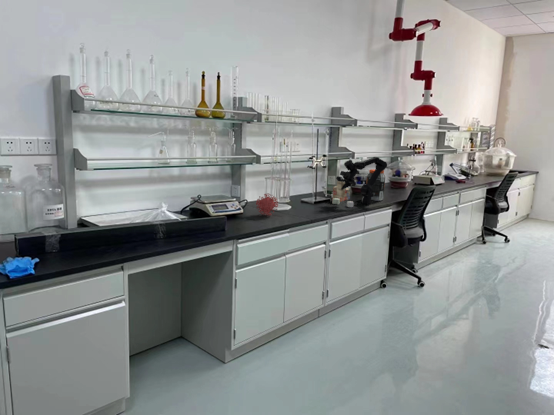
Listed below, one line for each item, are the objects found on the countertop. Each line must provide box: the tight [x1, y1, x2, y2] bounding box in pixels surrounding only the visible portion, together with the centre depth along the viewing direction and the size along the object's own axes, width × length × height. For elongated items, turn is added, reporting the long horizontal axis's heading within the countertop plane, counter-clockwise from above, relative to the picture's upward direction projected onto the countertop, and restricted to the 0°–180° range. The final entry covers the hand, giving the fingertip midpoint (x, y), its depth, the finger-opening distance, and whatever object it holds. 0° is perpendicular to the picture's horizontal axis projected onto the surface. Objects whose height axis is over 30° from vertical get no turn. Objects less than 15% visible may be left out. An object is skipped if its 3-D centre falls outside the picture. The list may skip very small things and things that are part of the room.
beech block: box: [336, 181, 345, 198], centre depth 326 cm, size 4×4×12 cm
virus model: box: [255, 193, 279, 216], centre depth 279 cm, size 15×15×15 cm
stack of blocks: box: [331, 185, 351, 203], centre depth 354 cm, size 21×6×12 cm, turn 146°
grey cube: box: [346, 200, 354, 208], centre depth 326 cm, size 4×4×4 cm
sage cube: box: [332, 198, 341, 205], centre depth 337 cm, size 5×5×4 cm
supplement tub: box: [365, 168, 386, 202], centre depth 364 cm, size 16×16×26 cm
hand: (339, 188), depth 325 cm, fingers closed on beech block, 4 cm apart
